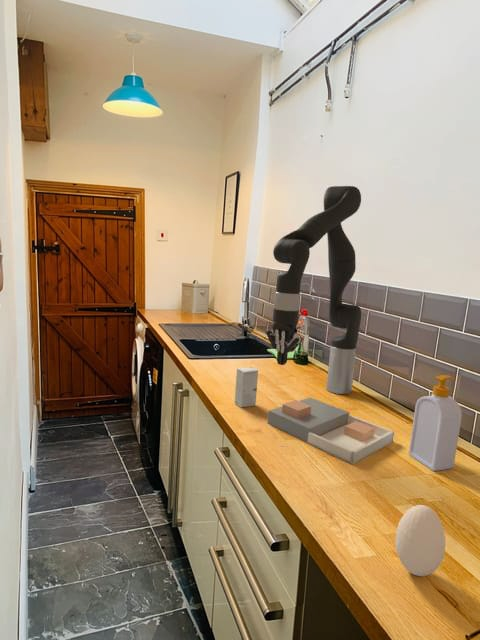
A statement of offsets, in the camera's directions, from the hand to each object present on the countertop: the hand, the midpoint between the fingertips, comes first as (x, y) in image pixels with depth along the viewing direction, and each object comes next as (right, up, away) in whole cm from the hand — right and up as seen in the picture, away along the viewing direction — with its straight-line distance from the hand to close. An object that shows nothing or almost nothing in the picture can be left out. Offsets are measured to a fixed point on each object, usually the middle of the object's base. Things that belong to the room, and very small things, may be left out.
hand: (281, 364), depth 125 cm
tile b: (+4, -14, -3) cm, 15 cm away
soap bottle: (+37, -23, -19) cm, 47 cm away
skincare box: (-11, -15, +12) cm, 22 cm away
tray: (+18, -21, -11) cm, 30 cm away
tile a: (+22, -17, -8) cm, 29 cm away
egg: (+17, -29, -57) cm, 65 cm away
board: (+8, -18, 0) cm, 20 cm away
